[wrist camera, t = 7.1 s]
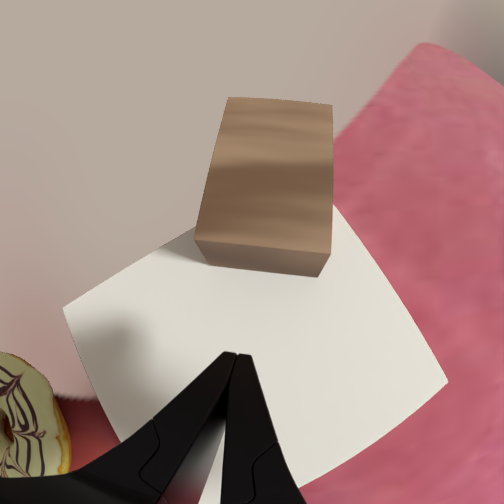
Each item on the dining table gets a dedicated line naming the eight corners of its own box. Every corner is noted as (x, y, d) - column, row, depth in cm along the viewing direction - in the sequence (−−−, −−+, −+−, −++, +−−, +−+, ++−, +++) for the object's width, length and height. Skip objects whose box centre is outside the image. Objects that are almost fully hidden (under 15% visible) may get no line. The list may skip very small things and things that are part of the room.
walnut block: (331, 254, 13) (332, 105, 16) (193, 239, 14) (228, 97, 16) (317, 277, 17) (323, 146, 20) (209, 265, 17) (234, 138, 20)
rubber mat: (443, 381, 15) (448, 381, 14) (185, 527, 13) (183, 532, 12) (303, 173, 20) (304, 168, 19) (67, 309, 18) (62, 307, 17)
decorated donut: (69, 352, 17) (32, 347, 13) (100, 501, 13) (71, 520, 10) (-18, 354, 17) (-50, 348, 13) (4, 476, 13) (-25, 483, 10)
